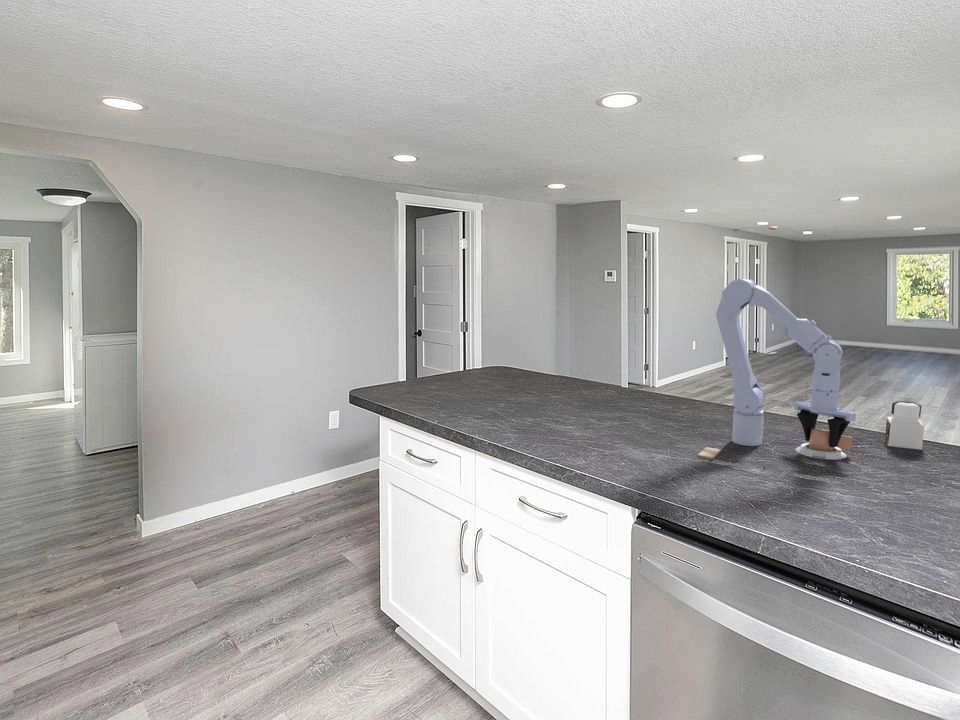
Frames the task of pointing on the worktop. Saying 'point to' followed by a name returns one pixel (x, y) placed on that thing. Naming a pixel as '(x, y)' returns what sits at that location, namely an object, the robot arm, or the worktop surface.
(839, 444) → the mug
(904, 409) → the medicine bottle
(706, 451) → the mat
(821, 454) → the plate
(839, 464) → the worktop surface
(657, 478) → the worktop surface
